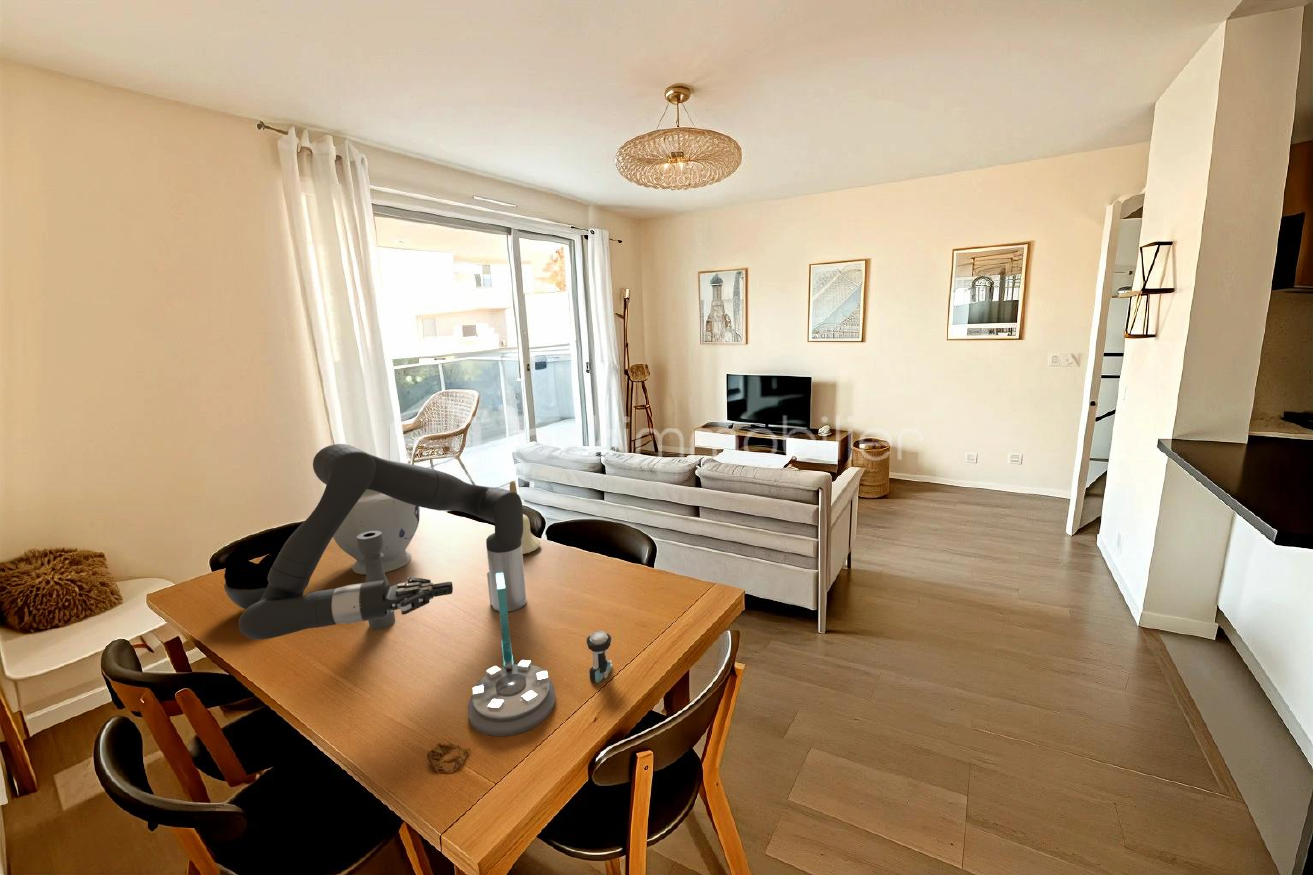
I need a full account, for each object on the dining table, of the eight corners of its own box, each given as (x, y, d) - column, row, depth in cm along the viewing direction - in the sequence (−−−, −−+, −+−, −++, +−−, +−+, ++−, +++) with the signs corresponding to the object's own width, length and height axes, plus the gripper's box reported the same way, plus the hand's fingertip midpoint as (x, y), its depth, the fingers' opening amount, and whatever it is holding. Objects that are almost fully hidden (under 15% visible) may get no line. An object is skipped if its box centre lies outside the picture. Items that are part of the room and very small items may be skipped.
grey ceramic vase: (442, 557, 183) (432, 472, 177) (365, 590, 161) (351, 494, 155) (396, 542, 197) (385, 463, 191) (319, 570, 175) (304, 482, 169)
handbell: (534, 559, 179) (529, 487, 174) (489, 560, 180) (482, 488, 175) (544, 540, 194) (539, 474, 189) (503, 541, 195) (496, 475, 190)
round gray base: (450, 716, 107) (449, 707, 107) (514, 669, 121) (513, 661, 121) (511, 748, 98) (510, 739, 98) (572, 694, 112) (571, 686, 112)
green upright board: (554, 710, 105) (547, 622, 101) (473, 730, 100) (463, 639, 96) (538, 640, 128) (532, 567, 125) (472, 653, 124) (464, 578, 120)
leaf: (450, 781, 92) (451, 772, 92) (420, 766, 95) (420, 757, 94) (476, 756, 98) (477, 748, 98) (447, 742, 101) (447, 734, 100)
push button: (602, 662, 123) (600, 623, 121) (621, 670, 120) (619, 629, 118) (583, 679, 117) (581, 637, 115) (603, 687, 114) (600, 644, 112)
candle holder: (400, 619, 144) (388, 531, 139) (382, 631, 138) (368, 540, 133) (382, 616, 146) (369, 529, 141) (363, 628, 140) (349, 538, 135)
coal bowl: (332, 597, 157) (321, 536, 154) (258, 632, 140) (245, 565, 136) (289, 585, 166) (278, 527, 162) (215, 617, 148) (201, 553, 144)
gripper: (352, 600, 102) (449, 584, 108) (365, 571, 115) (452, 558, 120) (357, 635, 104) (452, 618, 109) (370, 603, 116) (455, 589, 121)
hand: (452, 587), depth 114 cm, fingers closed
